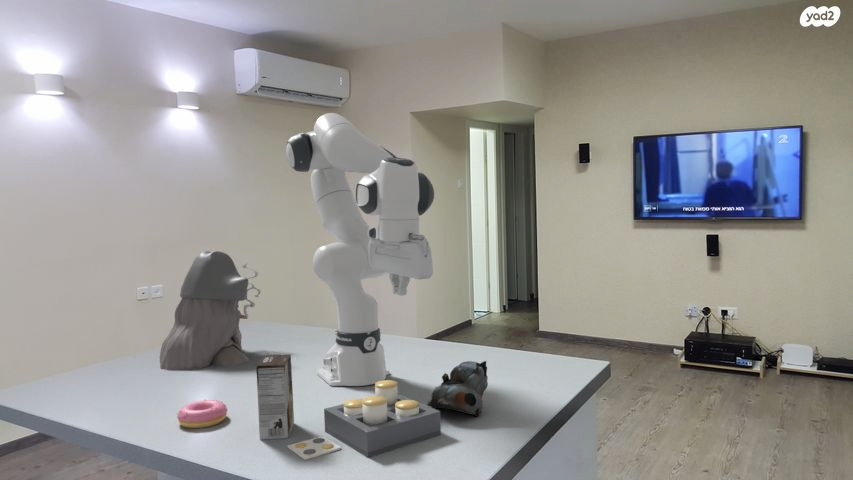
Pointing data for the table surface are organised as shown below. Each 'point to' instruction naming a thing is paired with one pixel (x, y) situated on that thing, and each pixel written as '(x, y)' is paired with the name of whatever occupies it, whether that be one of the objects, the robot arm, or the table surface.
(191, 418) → the doughnut
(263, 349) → the table surface
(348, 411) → the button
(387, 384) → the button
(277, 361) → the coffee box
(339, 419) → the board
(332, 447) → the card
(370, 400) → the button
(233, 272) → the bust
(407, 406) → the button
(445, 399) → the lucky cat figurine
